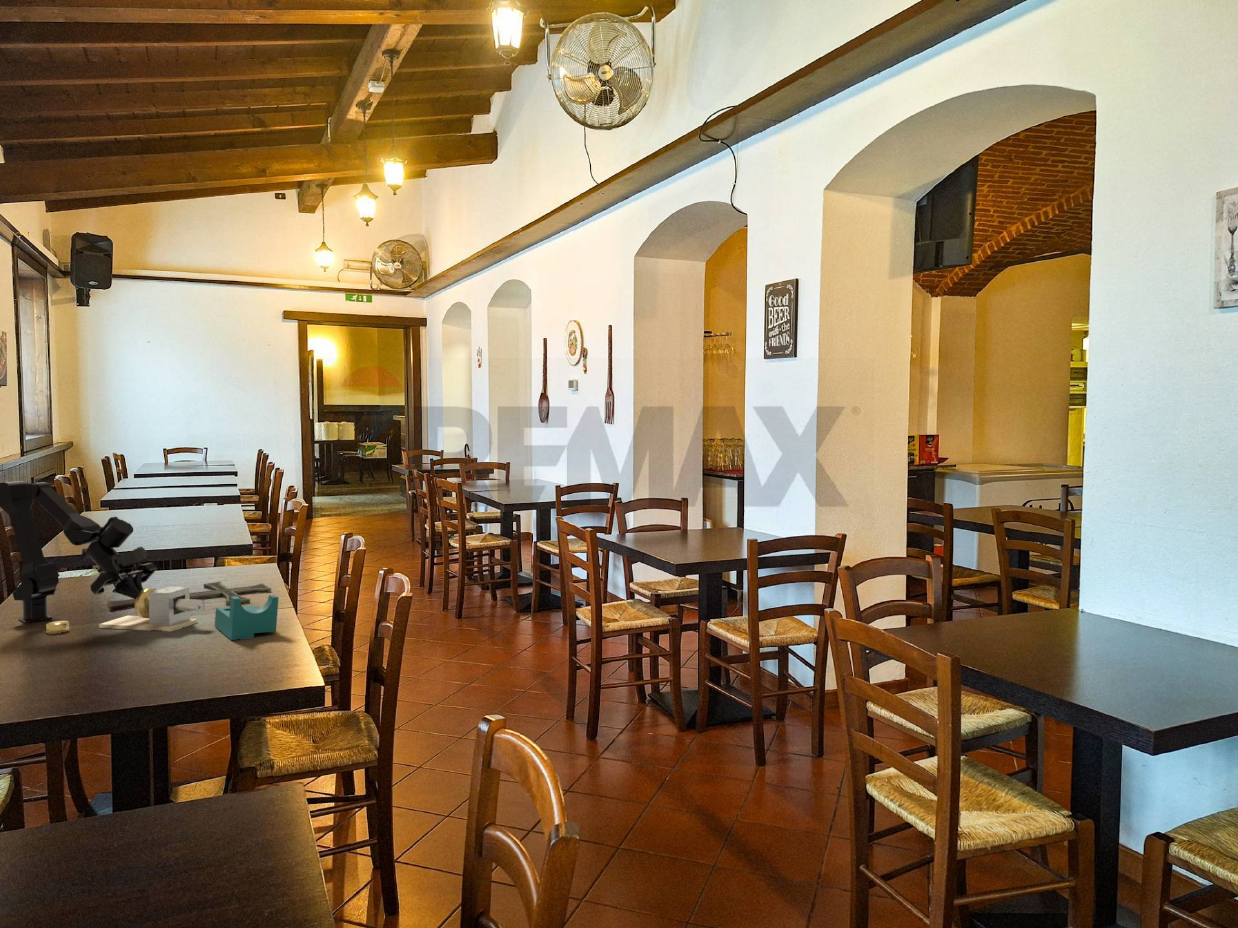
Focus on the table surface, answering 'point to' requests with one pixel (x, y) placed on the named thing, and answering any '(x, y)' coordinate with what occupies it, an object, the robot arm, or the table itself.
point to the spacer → (57, 627)
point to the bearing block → (167, 606)
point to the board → (142, 624)
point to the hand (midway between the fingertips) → (144, 600)
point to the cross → (204, 594)
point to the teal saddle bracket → (246, 618)
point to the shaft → (179, 604)
